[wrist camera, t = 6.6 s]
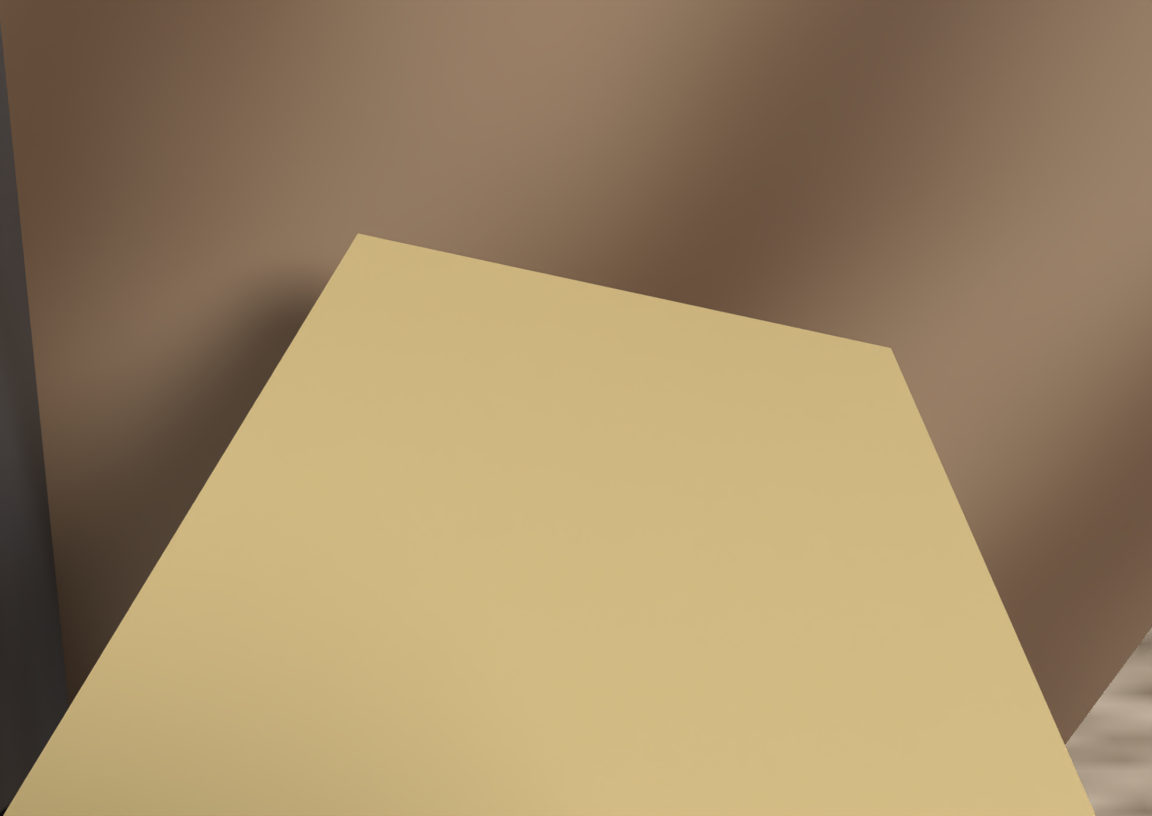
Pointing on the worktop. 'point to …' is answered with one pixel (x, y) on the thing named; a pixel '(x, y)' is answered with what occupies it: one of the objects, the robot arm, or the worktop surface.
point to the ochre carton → (563, 580)
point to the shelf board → (576, 251)
